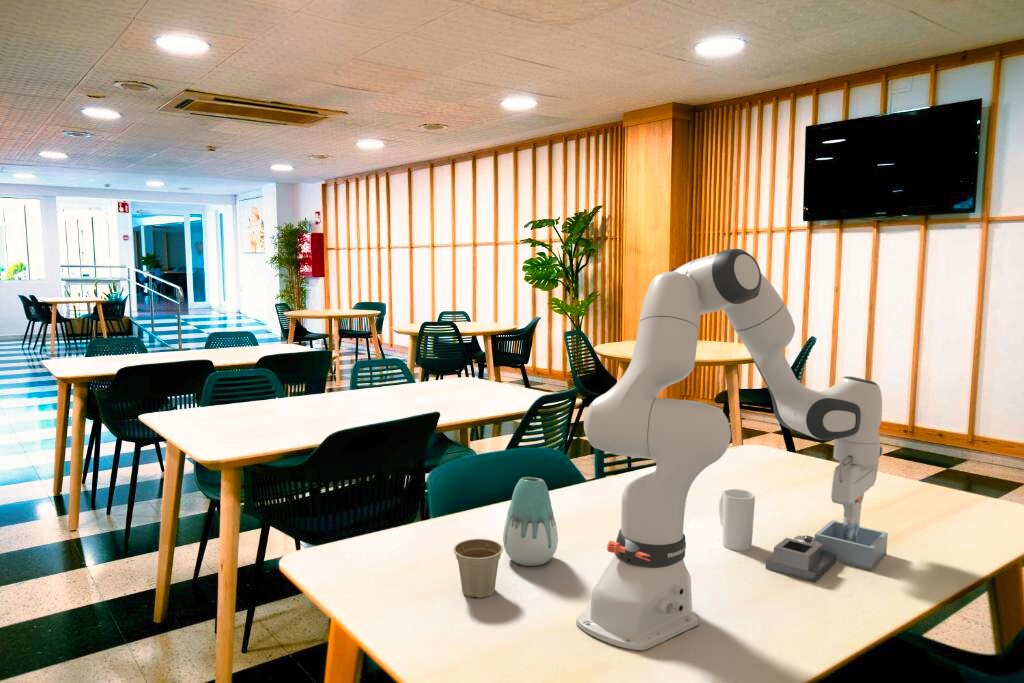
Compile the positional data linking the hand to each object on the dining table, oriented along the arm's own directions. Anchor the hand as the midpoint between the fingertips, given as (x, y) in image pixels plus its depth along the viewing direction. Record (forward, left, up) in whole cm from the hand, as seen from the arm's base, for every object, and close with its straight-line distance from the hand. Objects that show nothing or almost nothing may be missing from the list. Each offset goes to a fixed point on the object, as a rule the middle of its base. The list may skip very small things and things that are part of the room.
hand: (852, 514), depth 154 cm
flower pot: (-67, +48, -9) cm, 83 cm away
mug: (-11, +22, -9) cm, 26 cm away
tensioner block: (-13, +6, -9) cm, 17 cm away
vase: (-49, +50, -9) cm, 71 cm away
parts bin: (0, 0, -9) cm, 9 cm away
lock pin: (0, 0, -6) cm, 6 cm away
